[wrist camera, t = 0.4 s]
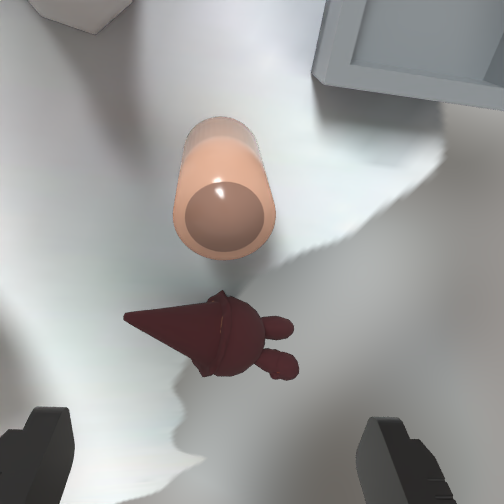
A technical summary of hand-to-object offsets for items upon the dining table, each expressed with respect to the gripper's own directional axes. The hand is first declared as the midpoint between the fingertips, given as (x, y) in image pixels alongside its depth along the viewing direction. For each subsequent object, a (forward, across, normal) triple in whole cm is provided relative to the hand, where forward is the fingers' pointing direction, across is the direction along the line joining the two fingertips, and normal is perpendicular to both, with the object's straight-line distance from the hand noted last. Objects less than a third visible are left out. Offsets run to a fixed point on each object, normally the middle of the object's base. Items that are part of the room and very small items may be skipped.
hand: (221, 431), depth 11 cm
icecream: (+22, 0, +13) cm, 25 cm away
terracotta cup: (+21, 0, -1) cm, 21 cm away
